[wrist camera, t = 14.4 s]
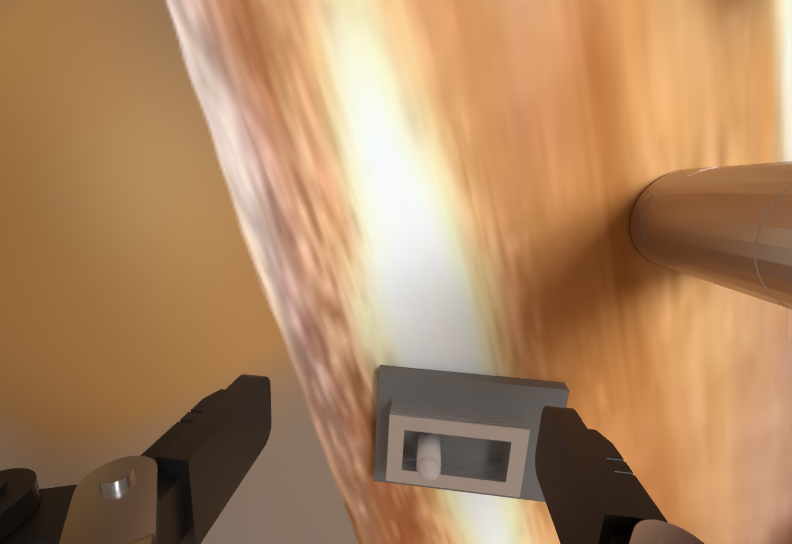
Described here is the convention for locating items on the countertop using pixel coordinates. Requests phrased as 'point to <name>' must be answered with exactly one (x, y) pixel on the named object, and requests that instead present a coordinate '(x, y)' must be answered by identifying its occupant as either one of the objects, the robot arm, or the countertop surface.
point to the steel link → (466, 424)
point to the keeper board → (465, 393)
